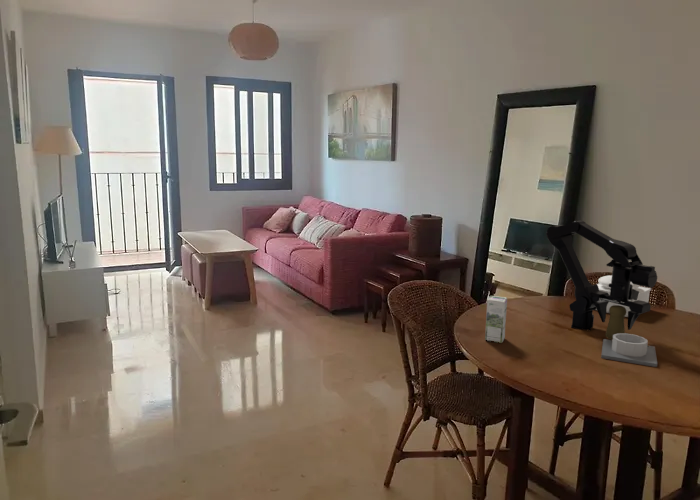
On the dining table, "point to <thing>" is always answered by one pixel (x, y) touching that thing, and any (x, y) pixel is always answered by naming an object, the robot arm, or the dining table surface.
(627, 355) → the cup stand
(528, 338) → the dining table surface
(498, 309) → the syrup box
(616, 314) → the cork
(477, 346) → the dining table surface
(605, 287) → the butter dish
